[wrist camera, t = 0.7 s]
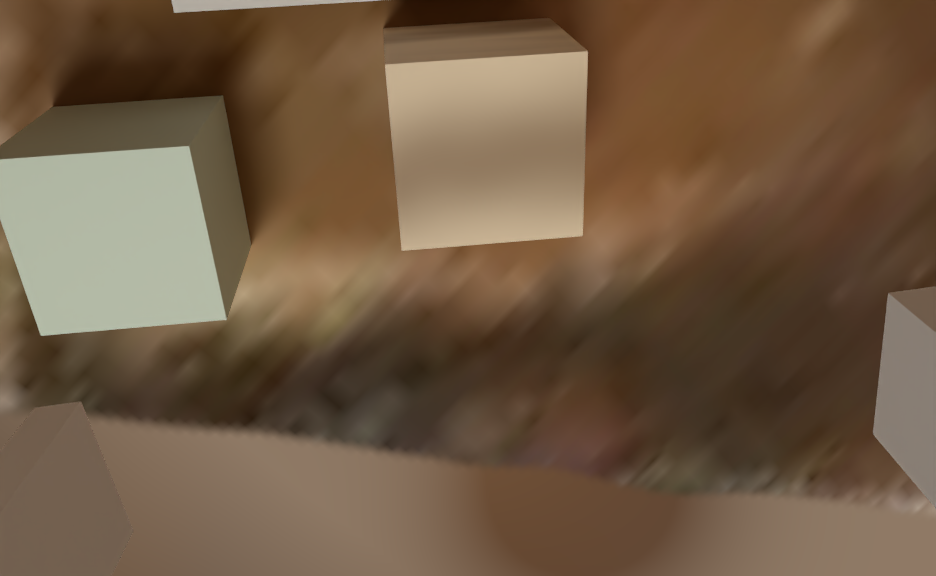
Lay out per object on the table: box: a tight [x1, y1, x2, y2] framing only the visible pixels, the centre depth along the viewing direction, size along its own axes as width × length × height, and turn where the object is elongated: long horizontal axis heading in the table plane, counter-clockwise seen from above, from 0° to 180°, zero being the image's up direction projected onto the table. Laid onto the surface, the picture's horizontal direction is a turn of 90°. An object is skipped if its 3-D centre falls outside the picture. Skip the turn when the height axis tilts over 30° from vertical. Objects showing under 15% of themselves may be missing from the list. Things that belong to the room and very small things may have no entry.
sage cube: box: [0, 95, 251, 336], centre depth 27 cm, size 6×6×6 cm
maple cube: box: [383, 18, 588, 251], centre depth 27 cm, size 6×6×6 cm
